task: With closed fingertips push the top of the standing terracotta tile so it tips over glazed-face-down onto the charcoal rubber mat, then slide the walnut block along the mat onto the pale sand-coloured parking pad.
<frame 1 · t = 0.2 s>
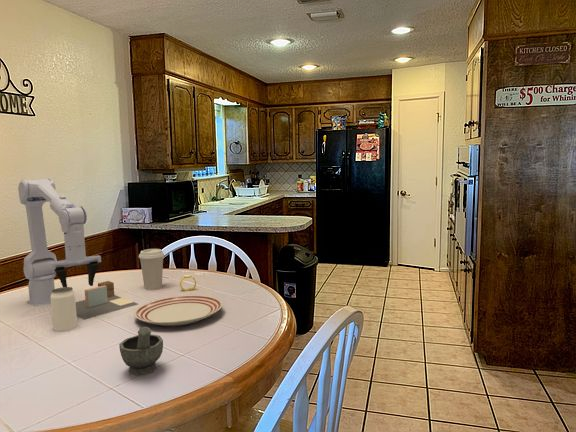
hand: (78, 287, 140), 10 cm above the table, tool pointing down, fingers open, 7 cm apart
mortar and pestle: (143, 371, 104), on the table
dinner plate: (179, 316, 142), on the table
coffee cup: (153, 288, 173), on the table
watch: (188, 290, 169), on the table
block: (106, 296, 162), resting on mat
mat: (98, 306, 152), on the table
can: (65, 329, 132), on the table
tile: (97, 304, 153), resting on mat
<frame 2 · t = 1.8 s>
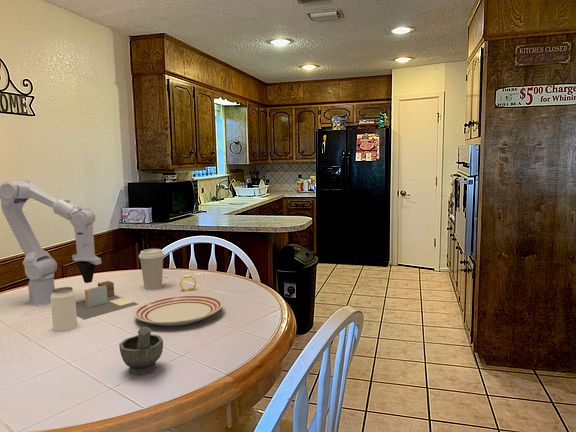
hand: (88, 282, 155), 7 cm above the table, tool pointing down, fingers closed
nothing on the table moved.
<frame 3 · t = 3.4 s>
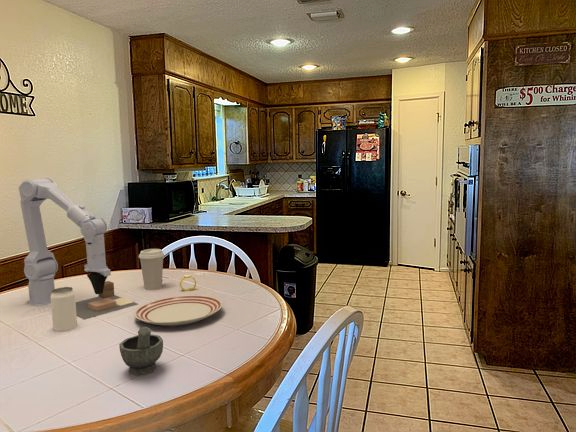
hand: (99, 293, 151), 5 cm above the table, tool pointing down, fingers closed
tile: (98, 302, 152), point 1 cm above the table, tilted 90°, touching mat
everything else where it was.
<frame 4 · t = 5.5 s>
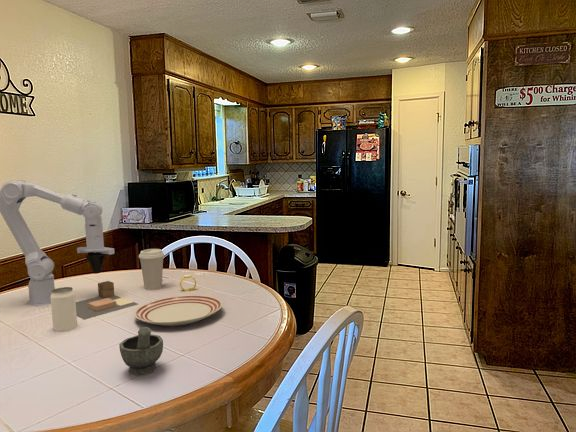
hand: (97, 272, 161), 9 cm above the table, tool pointing down, fingers closed
nothing on the table moved.
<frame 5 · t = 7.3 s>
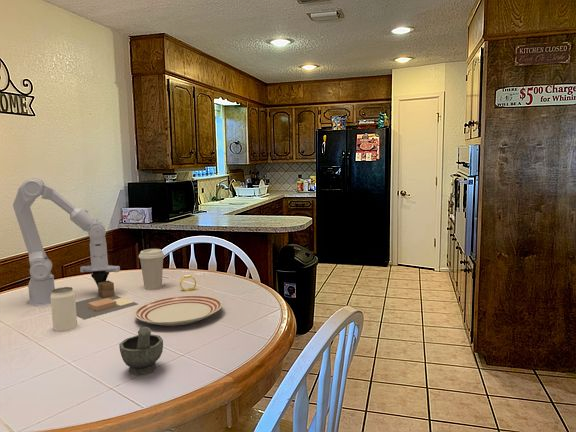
hand: (101, 290, 165), 2 cm above the table, tool pointing down, fingers closed
block: (106, 295, 162), point 1 cm above the table, touching gripper, mat
everything else where it was.
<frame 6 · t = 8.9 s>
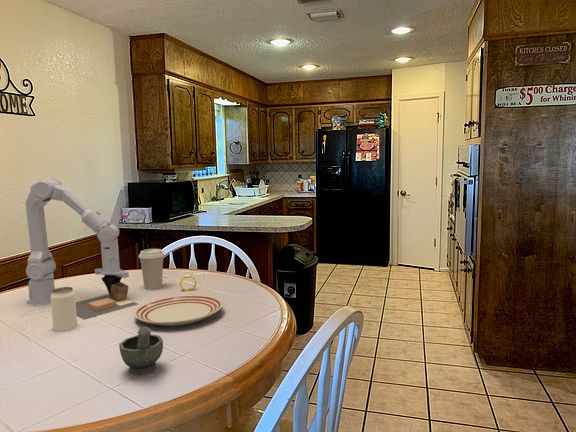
hand: (113, 295, 159), 2 cm above the table, tool pointing down, fingers closed
block: (118, 298, 158), point 1 cm above the table, tilted 16°, touching gripper
everything else where it was.
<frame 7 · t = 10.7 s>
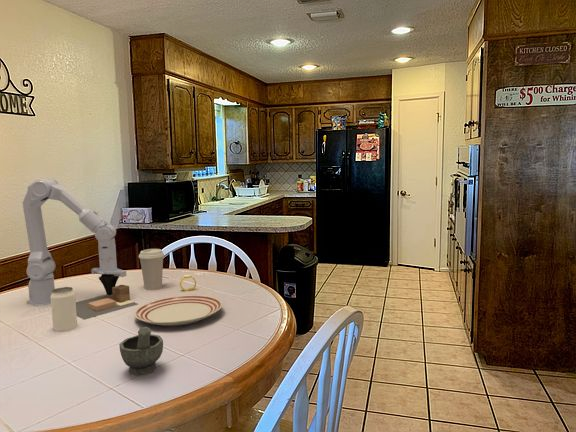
hand: (110, 294, 160), 2 cm above the table, tool pointing down, fingers closed
block: (121, 300, 157), resting on mat
everything else where it was.
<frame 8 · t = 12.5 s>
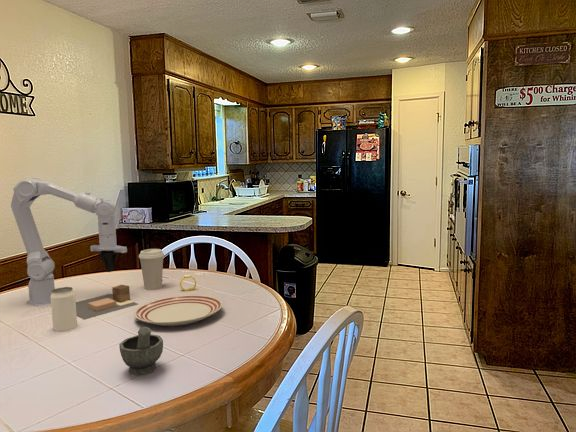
hand: (110, 271, 161), 10 cm above the table, tool pointing down, fingers closed
nothing on the table moved.
at the end: tile tilted 90°; tile inside the target area (3.6 cm from its centre), point 1.3 cm above the table; block inside the target area (1.6 cm from its centre), resting on mat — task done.
